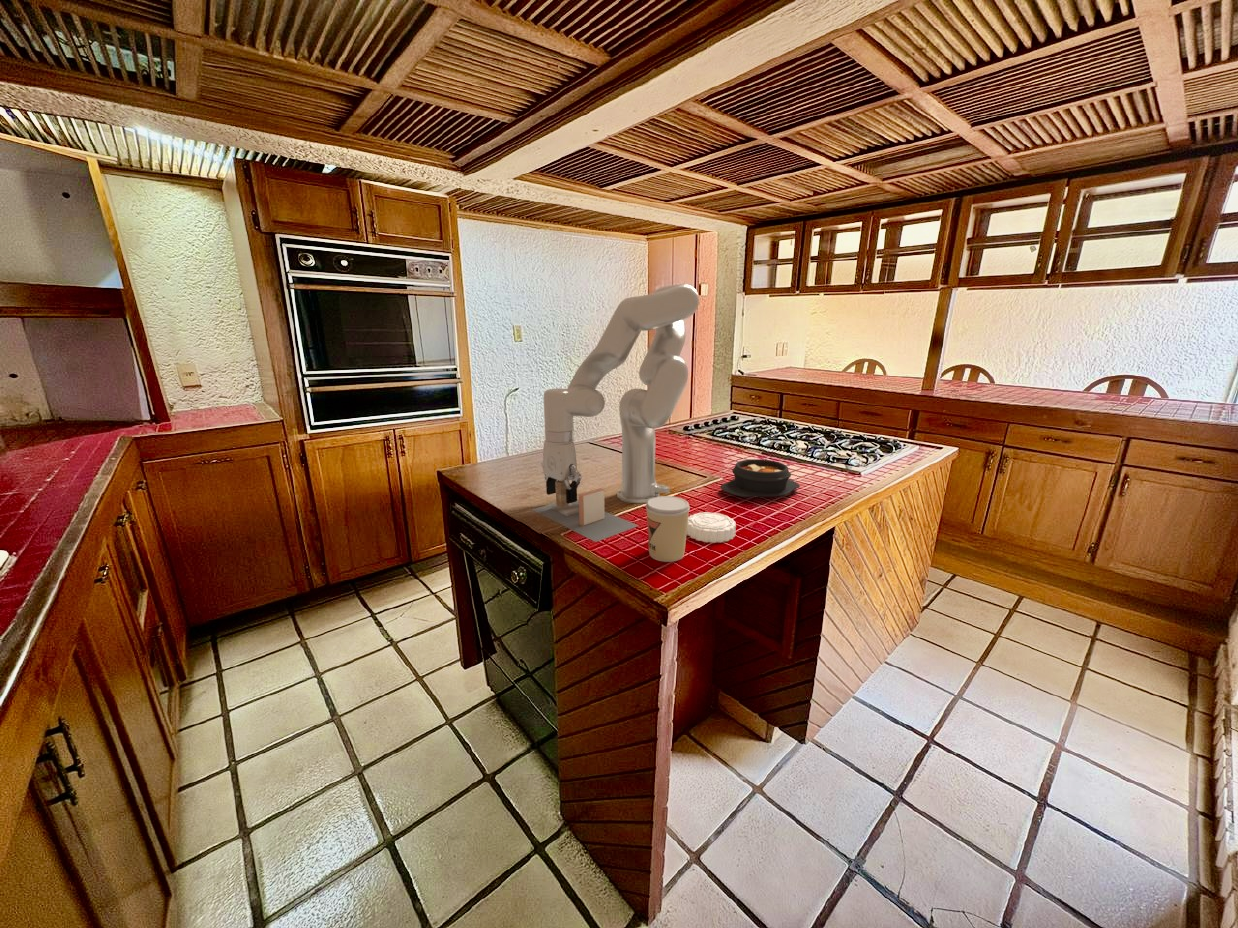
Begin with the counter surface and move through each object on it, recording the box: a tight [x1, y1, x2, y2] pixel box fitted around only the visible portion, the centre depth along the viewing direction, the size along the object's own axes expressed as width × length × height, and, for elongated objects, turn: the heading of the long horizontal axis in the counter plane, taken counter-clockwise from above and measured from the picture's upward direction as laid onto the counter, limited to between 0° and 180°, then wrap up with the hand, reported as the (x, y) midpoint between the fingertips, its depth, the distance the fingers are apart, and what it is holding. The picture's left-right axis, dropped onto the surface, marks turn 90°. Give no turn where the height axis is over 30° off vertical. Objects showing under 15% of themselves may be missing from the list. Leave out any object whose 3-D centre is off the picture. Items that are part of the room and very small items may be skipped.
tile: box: [578, 488, 606, 526], centre depth 122 cm, size 2×7×8 cm, turn 132°
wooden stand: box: [552, 480, 579, 516], centre depth 130 cm, size 7×5×8 cm
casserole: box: [719, 458, 801, 499], centre depth 144 cm, size 25×19×8 cm
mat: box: [531, 499, 639, 543], centre depth 126 cm, size 28×14×1 cm, turn 42°
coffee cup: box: [645, 495, 690, 563], centre depth 104 cm, size 9×9×12 cm
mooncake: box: [686, 511, 737, 544], centre depth 116 cm, size 12×12×4 cm
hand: (561, 497), depth 131 cm, fingers open, 8 cm apart
